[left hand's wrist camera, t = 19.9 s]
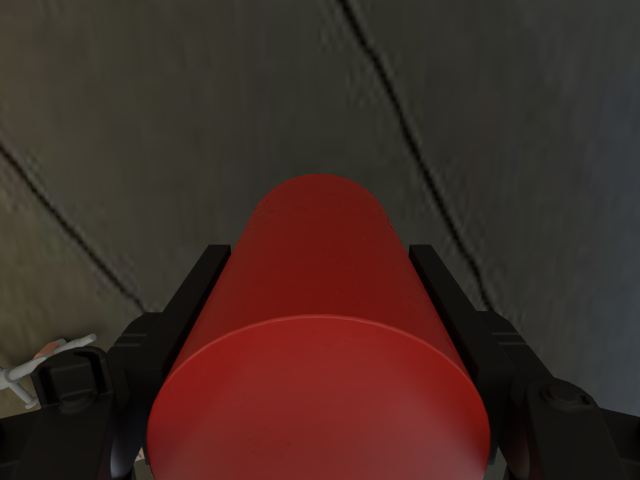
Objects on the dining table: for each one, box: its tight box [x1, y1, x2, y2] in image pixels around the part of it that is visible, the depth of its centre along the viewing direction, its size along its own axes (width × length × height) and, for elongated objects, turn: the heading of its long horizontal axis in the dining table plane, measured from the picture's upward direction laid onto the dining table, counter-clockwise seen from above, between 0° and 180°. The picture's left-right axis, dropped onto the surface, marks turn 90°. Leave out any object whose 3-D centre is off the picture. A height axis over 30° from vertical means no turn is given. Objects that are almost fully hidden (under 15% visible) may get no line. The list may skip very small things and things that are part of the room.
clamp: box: [0, 333, 145, 461], centre depth 29 cm, size 15×2×10 cm
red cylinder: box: [146, 174, 491, 480], centre depth 12 cm, size 6×6×10 cm
